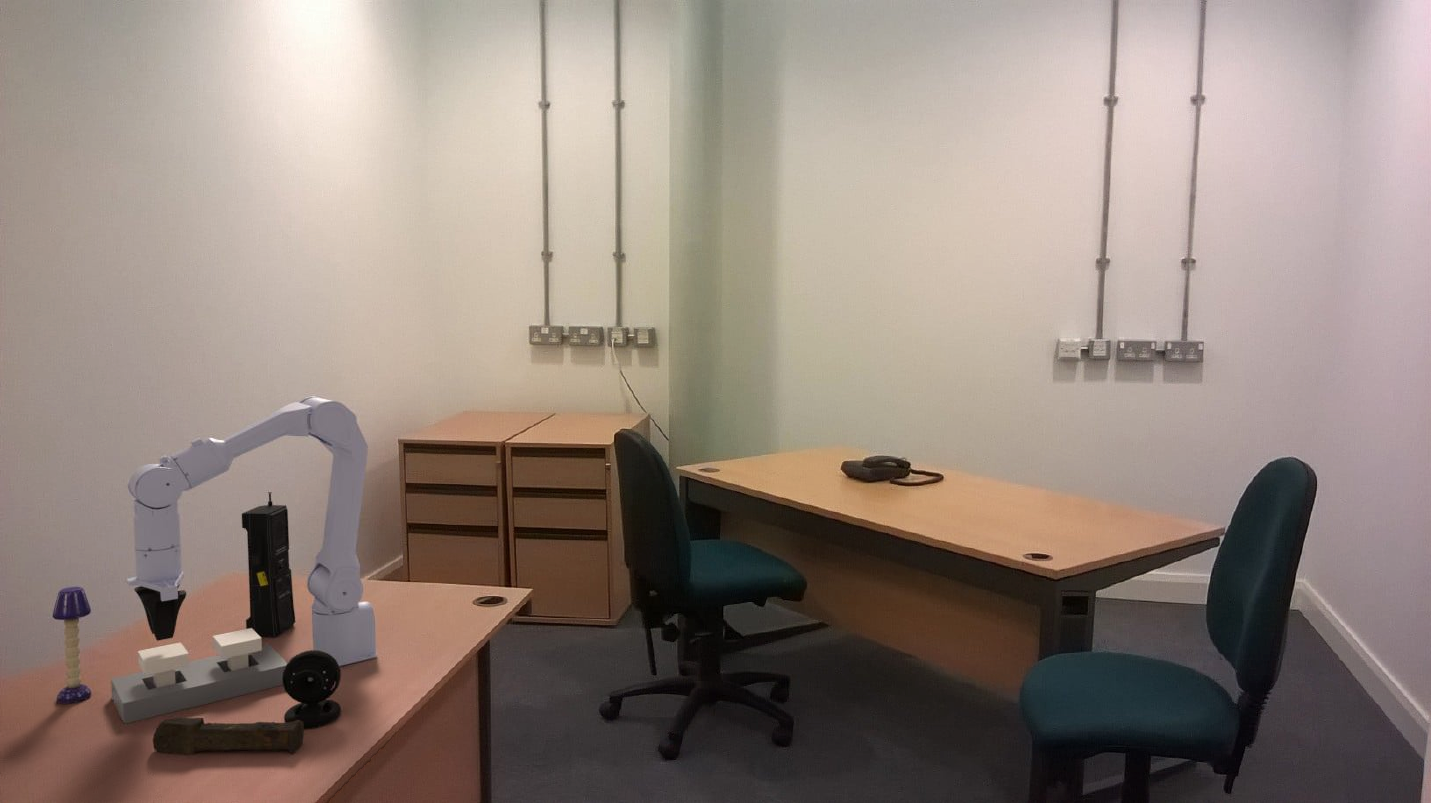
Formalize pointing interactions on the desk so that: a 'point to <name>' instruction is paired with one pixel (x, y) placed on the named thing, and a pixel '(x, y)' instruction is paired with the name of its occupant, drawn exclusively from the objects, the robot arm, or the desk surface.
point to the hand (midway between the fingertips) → (162, 635)
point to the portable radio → (269, 570)
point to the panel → (196, 685)
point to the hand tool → (226, 736)
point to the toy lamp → (72, 640)
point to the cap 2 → (237, 647)
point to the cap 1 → (163, 662)
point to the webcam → (312, 688)
